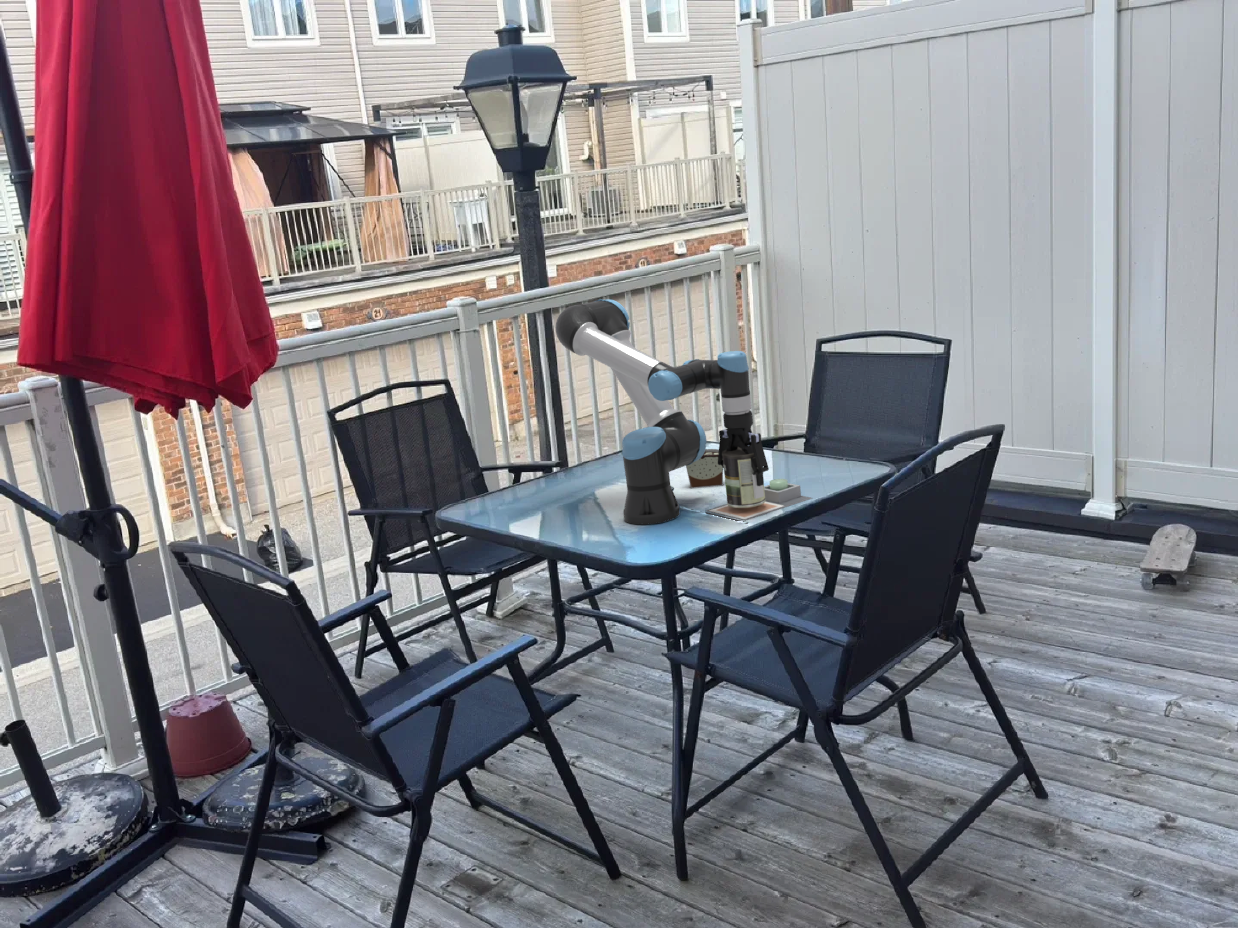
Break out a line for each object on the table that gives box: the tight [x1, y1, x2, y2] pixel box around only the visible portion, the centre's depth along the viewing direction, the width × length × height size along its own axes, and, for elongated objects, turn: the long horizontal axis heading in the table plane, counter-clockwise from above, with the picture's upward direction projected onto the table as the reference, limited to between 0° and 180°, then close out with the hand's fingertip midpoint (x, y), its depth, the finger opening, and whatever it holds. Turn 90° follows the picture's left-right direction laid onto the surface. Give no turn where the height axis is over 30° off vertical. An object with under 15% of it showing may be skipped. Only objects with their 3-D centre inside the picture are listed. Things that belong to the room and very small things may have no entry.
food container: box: [685, 448, 724, 489], centre depth 318 cm, size 12×6×10 cm, turn 84°
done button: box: [769, 478, 789, 491], centre depth 292 cm, size 5×5×3 cm
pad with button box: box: [705, 482, 813, 522], centre depth 289 cm, size 24×16×4 cm, turn 125°
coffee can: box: [722, 447, 766, 508], centre depth 284 cm, size 10×10×14 cm
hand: (745, 494), depth 285 cm, fingers closed on coffee can, 10 cm apart
